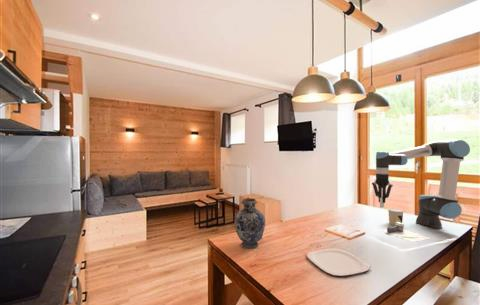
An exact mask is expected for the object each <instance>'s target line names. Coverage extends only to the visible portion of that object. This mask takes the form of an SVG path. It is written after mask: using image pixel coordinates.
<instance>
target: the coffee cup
mask: <svg viewBox="0 0 480 305" xmlns="http://www.w3.org/2000/svg"><path fill="white" fill-rule="evenodd" d="M387 212H388V222H389V224H390V225H391V226H396V225H395V222H400V223H403V218H404V210H402V209H398V208H388V209H387Z"/></svg>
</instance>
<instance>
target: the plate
mask: <svg viewBox="0 0 480 305" xmlns="http://www.w3.org/2000/svg"><path fill="white" fill-rule="evenodd" d="M306 257H307V259H308V260H309V261H310V262H312V263H313V264H314V265H315V266H316V267H318V268H319V269H320V270H322V271H323V272H324V273H327V274H329V275H332V276H335V277H336V276H337V277H344V276H345V277H346V276H347V277H348V276H352V275H359V274H362V273H365V272H368V271H369V270H370V269H371V267H370V266H369V264H367V263H366V262H365V261H364V260H362V259H360V258H359V257H357V256H356V255H354V254H352V253H350V252H348V251H346V250H344V249H340V248H324V249H319V250H313V251H310V252H308V253H307V254H306Z"/></svg>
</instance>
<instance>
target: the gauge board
mask: <svg viewBox="0 0 480 305" xmlns="http://www.w3.org/2000/svg"><path fill="white" fill-rule="evenodd" d="M379 231H380V232H384V233H385V234H389V235H391V236H395V237H397V238H401V239H403V240H405V241H407V242H411V243H417V242H421V241H425V240H430V239H431V237H429V236H425V235H422V234H419V233H416V232H412V231H409V230H406V229H404V228H403V232H399V231H397V232H391V233H388V232H387V228H383V229H379Z"/></svg>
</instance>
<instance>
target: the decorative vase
mask: <svg viewBox="0 0 480 305" xmlns="http://www.w3.org/2000/svg"><path fill="white" fill-rule="evenodd" d="M241 204H242V205H243V208H242V209H240V210H238V211H237V212H236V214H235V217H234V228H235V232H236V235H237V236H238V238H239V239H240V241H241V245H242V246H241V245H240V246H241V247H243V249H246V248H248V249H247V250H252V249H253V248H254V249H257V248H258V247H259V245H260V244H259V241H260V240H262V238H263V235H264V231H265V228H266V219H265V218H266V216H265V215H264V213H263V212H262V211H261V210H259V209H257V208H256V204H258V201H257V199H256V198H251V197H250V198H249V196H248V197H247V198H244V199H242V201H241Z"/></svg>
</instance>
